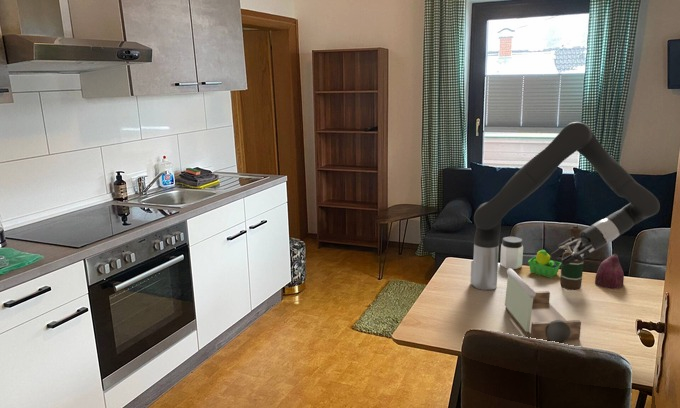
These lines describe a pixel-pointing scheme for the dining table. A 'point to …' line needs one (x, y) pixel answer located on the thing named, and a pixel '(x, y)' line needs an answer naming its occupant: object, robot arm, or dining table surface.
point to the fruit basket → (544, 265)
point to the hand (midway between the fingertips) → (556, 260)
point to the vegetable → (610, 273)
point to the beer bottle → (572, 268)
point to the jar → (511, 252)
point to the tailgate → (519, 299)
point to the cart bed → (550, 321)
